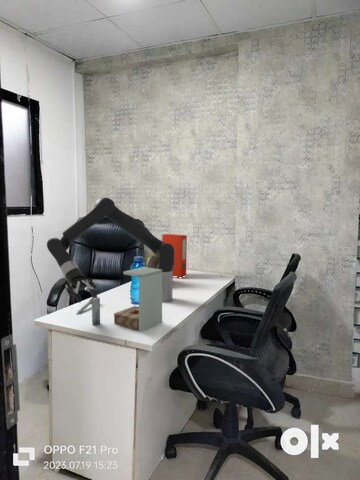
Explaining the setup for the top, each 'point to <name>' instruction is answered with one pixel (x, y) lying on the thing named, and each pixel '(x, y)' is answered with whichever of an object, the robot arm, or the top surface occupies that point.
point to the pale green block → (149, 296)
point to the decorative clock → (153, 261)
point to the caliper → (85, 306)
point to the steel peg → (95, 311)
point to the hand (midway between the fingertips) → (88, 299)
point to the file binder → (178, 252)
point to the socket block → (128, 318)
